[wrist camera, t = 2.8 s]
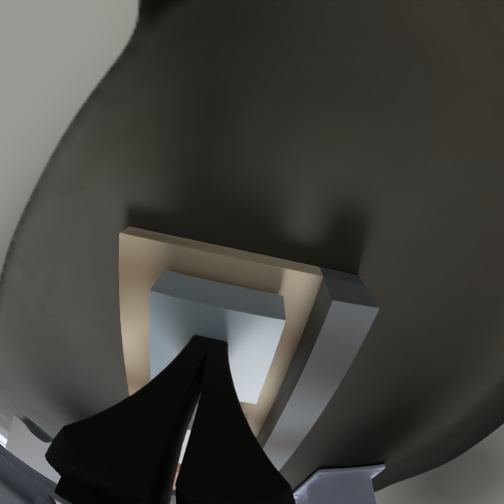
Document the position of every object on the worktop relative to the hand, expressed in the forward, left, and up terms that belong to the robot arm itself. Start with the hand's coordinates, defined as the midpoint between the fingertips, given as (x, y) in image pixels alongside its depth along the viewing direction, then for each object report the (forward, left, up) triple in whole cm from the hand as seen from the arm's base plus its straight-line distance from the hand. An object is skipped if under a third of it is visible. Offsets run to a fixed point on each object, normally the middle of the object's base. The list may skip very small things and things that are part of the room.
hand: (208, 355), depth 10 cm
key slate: (0, 0, -2) cm, 2 cm away
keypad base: (-7, -1, -3) cm, 8 cm away
